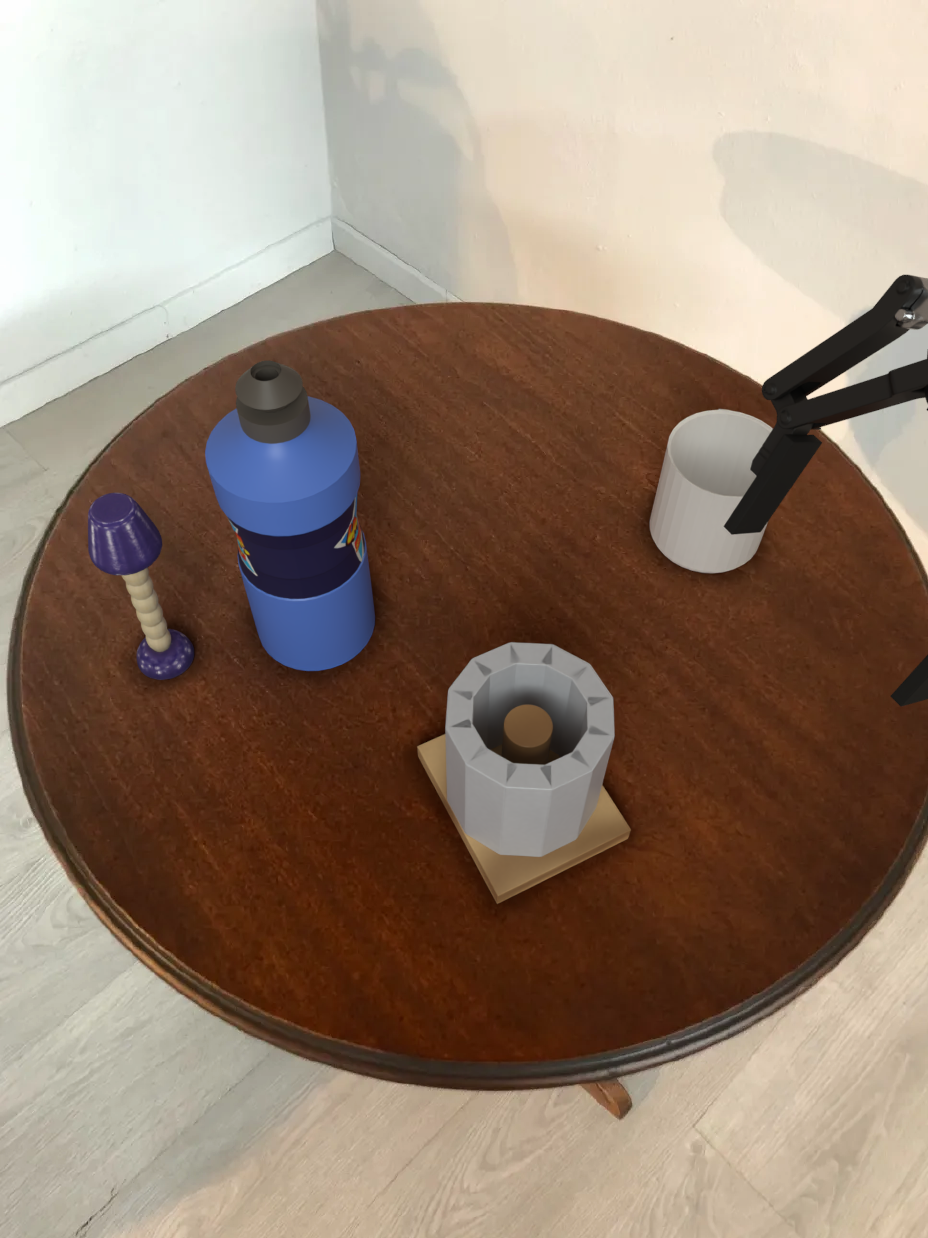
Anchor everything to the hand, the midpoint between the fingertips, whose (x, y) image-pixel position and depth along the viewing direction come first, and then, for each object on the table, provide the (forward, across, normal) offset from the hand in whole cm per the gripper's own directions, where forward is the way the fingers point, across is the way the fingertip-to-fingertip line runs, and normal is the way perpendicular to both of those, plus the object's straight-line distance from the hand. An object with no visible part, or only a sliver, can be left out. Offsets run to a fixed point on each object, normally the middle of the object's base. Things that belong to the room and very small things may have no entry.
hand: (819, 608), depth 56 cm
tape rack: (+23, +6, +6) cm, 25 cm away
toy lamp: (+30, +29, +21) cm, 47 cm away
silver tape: (+22, +6, +6) cm, 23 cm away
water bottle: (+25, +27, +12) cm, 38 cm away
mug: (+11, +20, -18) cm, 29 cm away
